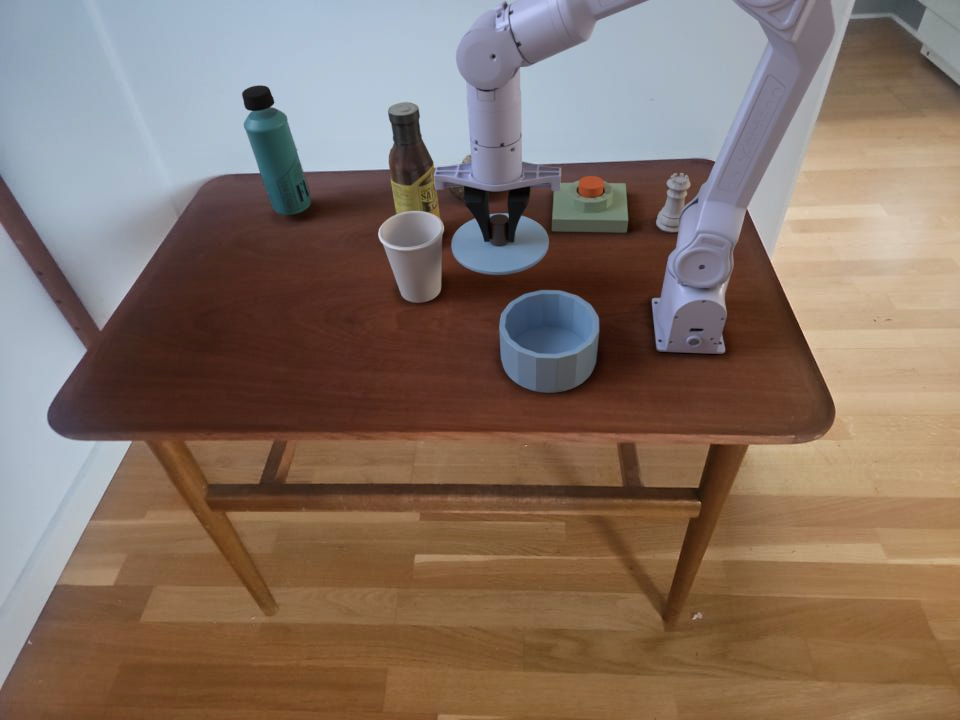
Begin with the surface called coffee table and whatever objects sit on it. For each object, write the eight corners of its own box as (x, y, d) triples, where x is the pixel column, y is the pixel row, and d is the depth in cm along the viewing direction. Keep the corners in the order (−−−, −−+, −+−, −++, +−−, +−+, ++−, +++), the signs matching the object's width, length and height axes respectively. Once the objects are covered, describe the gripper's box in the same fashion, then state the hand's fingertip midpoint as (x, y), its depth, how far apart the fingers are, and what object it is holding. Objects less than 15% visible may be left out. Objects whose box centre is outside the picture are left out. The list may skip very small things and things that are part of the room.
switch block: (626, 232, 95) (629, 209, 92) (551, 231, 96) (552, 208, 94) (624, 195, 102) (626, 172, 99) (554, 194, 103) (554, 172, 100)
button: (602, 199, 95) (603, 189, 94) (578, 199, 96) (578, 188, 94) (602, 186, 98) (603, 175, 96) (578, 185, 98) (579, 175, 97)
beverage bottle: (310, 223, 102) (273, 99, 87) (269, 224, 102) (225, 101, 88) (318, 200, 106) (284, 78, 92) (279, 201, 106) (238, 80, 92)
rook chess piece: (678, 238, 94) (687, 189, 88) (650, 228, 96) (657, 180, 90) (691, 222, 96) (701, 174, 90) (663, 213, 98) (672, 166, 92)
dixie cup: (379, 300, 88) (365, 240, 81) (408, 264, 93) (398, 205, 86) (433, 315, 85) (424, 254, 78) (460, 277, 90) (454, 217, 83)
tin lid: (546, 280, 77) (547, 251, 74) (445, 277, 78) (441, 248, 75) (550, 220, 85) (551, 192, 82) (458, 219, 86) (456, 191, 83)
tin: (596, 395, 74) (599, 360, 70) (497, 390, 76) (495, 355, 71) (595, 326, 82) (598, 291, 78) (505, 323, 83) (504, 288, 79)
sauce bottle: (436, 251, 95) (419, 122, 80) (395, 248, 96) (371, 120, 81) (446, 225, 99) (432, 99, 85) (407, 223, 100) (386, 97, 86)
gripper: (563, 117, 72) (559, 219, 82) (436, 117, 74) (447, 218, 84) (561, 149, 68) (557, 253, 77) (425, 148, 69) (438, 251, 79)
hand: (499, 237), depth 80 cm, fingers closed on tin lid, 2 cm apart
